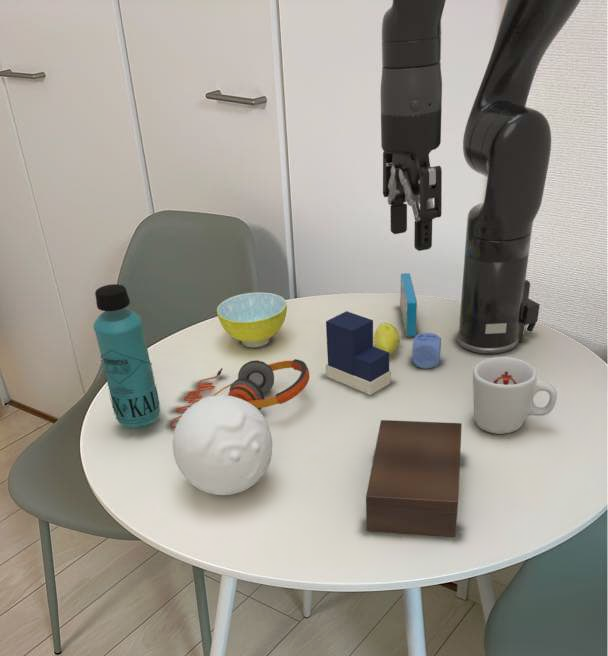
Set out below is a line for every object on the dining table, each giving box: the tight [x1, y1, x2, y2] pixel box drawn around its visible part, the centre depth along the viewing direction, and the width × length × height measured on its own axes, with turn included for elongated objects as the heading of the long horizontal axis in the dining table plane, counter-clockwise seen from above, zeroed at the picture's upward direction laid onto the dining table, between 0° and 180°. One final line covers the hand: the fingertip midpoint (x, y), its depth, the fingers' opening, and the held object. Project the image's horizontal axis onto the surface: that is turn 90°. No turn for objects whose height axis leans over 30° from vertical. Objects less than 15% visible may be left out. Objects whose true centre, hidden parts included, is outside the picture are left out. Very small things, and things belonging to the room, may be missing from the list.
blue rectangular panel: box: [399, 272, 418, 338], centre depth 125 cm, size 12×2×6 cm, turn 179°
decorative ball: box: [172, 394, 273, 496], centre depth 91 cm, size 12×12×12 cm
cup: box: [472, 356, 558, 435], centre depth 98 cm, size 11×8×8 cm
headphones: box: [169, 358, 310, 429], centre depth 108 cm, size 17×5×20 cm
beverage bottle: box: [93, 283, 162, 428], centre depth 101 cm, size 6×7×20 cm
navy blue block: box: [325, 310, 392, 396], centre depth 110 cm, size 9×5×9 cm, turn 45°
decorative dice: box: [411, 332, 442, 369], centre depth 115 cm, size 4×4×4 cm
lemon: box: [373, 322, 401, 357], centre depth 119 cm, size 4×8×4 cm, turn 169°
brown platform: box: [365, 419, 463, 538], centre depth 90 cm, size 16×10×5 cm, turn 170°
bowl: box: [216, 291, 288, 348], centre depth 123 cm, size 11×12×6 cm
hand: (410, 240), depth 104 cm, fingers open, 8 cm apart
